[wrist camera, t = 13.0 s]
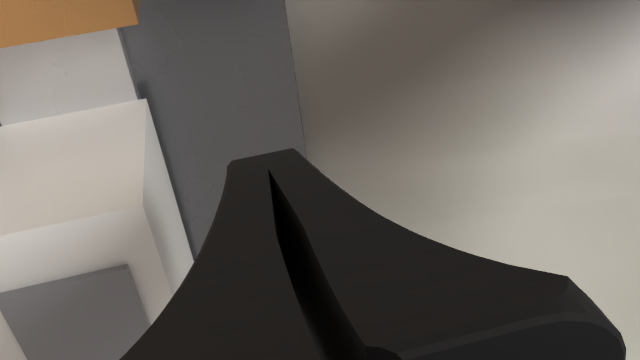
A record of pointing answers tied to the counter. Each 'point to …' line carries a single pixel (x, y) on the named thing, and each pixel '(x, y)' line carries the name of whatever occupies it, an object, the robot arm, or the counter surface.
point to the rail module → (85, 234)
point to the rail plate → (161, 80)
